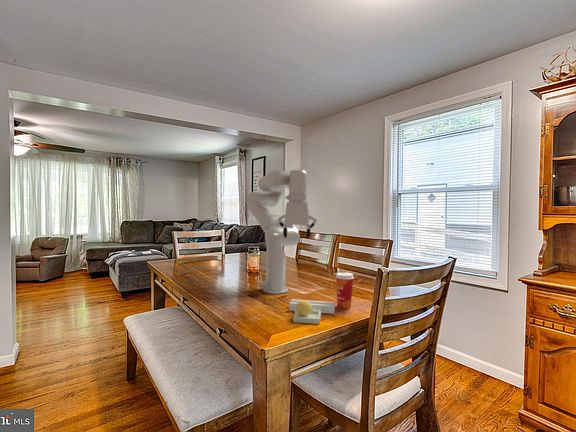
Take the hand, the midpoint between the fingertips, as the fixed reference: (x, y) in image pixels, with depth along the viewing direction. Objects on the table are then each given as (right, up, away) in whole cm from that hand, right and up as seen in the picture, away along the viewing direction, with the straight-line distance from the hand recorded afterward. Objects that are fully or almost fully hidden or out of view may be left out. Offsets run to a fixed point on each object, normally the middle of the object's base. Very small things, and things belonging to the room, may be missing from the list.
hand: (296, 237), depth 131 cm
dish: (+4, -29, -18) cm, 34 cm away
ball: (+2, -25, -18) cm, 31 cm away
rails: (+6, -29, -9) cm, 31 cm away
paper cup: (+20, -29, -4) cm, 35 cm away
